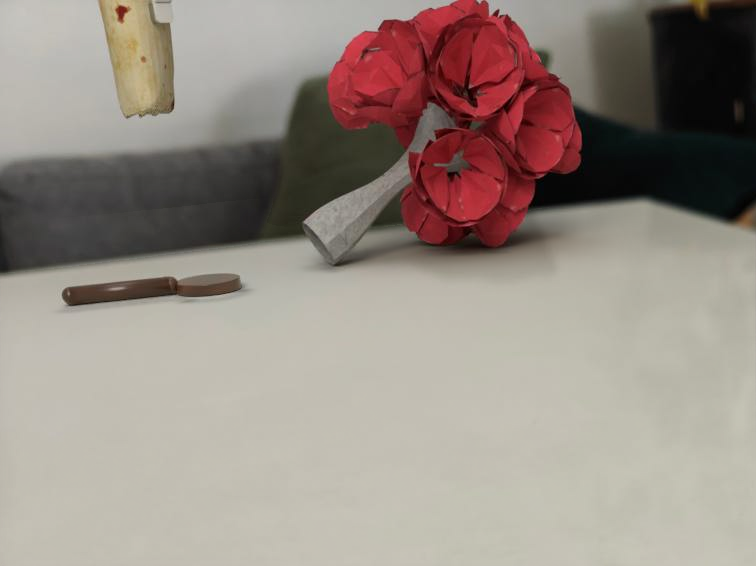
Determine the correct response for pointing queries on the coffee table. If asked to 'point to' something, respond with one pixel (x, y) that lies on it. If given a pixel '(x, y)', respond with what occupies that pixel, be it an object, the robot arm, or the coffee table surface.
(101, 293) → the spoon
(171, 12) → the robot arm
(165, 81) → the food model
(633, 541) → the coffee table surface
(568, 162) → the bouquet
